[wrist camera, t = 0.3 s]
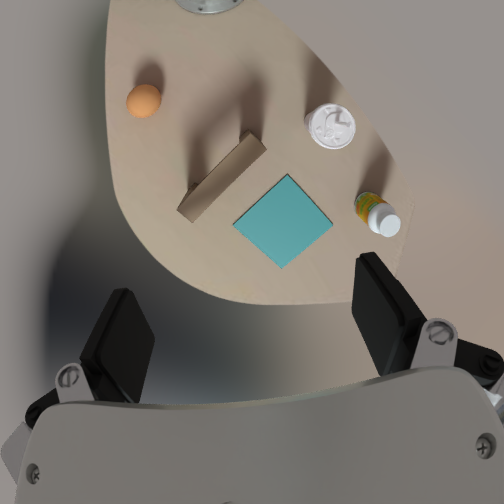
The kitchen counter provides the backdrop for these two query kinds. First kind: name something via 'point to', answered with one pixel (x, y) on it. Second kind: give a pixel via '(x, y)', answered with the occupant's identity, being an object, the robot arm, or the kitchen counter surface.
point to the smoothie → (331, 125)
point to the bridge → (221, 176)
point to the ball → (143, 101)
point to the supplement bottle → (377, 214)
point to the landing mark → (283, 222)
